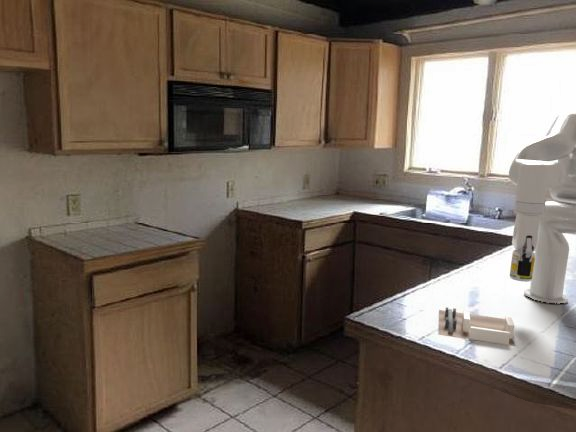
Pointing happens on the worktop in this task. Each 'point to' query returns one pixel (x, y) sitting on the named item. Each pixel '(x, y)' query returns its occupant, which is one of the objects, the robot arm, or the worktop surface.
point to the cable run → (450, 320)
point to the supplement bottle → (515, 266)
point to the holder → (489, 331)
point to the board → (474, 321)
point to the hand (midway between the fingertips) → (521, 271)
